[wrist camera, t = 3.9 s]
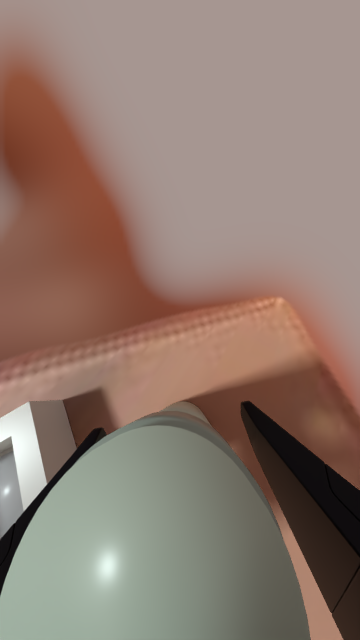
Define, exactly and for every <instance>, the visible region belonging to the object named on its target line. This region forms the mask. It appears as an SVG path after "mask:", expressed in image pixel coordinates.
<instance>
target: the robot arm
mask: <svg viewBox="0 0 360 640" xmlns="http://www.w3.org/2000/svg"><path fill="white" fill-rule="evenodd" d="M241 417H242V420H243V423H244V425H245V428H246V431H247V434H248V436H249V439H250V442H251V445H252V447H253V450H254V452H255V455H256V457H257V459H258V461H259V463H260V465H261V467H262V470H263V472H264V474H265V476H266V478H267V480H268V482H269V484H270V486H271V488H272V490H273V493H274V495H275V497H276V499H277V501H278V503H279V505H280V507H281V509H282V511H283V514H284V516H285V518H286V520H287V522H288V524H289V526H290V528H291V530H292V532H293V534H294V537H295V539H296V541H297V543H298V545H299V547H300V549H301V551H302V553H303V555H304V558H305V560H306V562H307V564H308V566H309V568H310V570H311V572H312V574H313V576H314V578H315V581H316V583H317V585H318V587H319V589H320V591H321V593H322V595H323V597H324V599H325V602H326V604H327V606H328V608H329V610H330V612H331V613H332V616H333V619H334V621H335V623H336V625H337V627H338V629H339V631H340V633H341V635H342V637H343V640H360V490H358V489H357V488H356V487H354V486H353V485H352V484H351V483H349V482H348V481H347V480H346V479H344V478H343V477H342V476H340V475H339V474H338V473H337V472H336V471H334V470H333V469H332V468H331V467H329V466H328V465H327V464H324V462H323V461H322V460H321V459H320V458H318V457H317V456H316V455H315V454H313V453H312V452H311V451H310V450H309V449H307V448H306V447H305V446H304V445H302V444H301V443H300V442H299V441H298V440H296V439H295V438H294V437H293V436H291V435H290V434H289V433H288V432H287V431H285V430H284V429H283V428H282V427H280V426H279V425H278V424H277V423H276V422H274V421H273V420H272V419H271V418H269V417H268V416H267V415H266V414H265V413H263V412H262V411H261V410H260V409H258V408H257V407H256V406H255V405H254V404H252V403H251V402H250V401H244V402H241ZM105 436H107V435H106V432H105V430H104V428H102V427H101V428H96V429H94V430H93V431H92V432H91V433H90V434H89V435H88V437H87V438H86V439H85V440H84V441H83V442H82V444H81V445H80V446H79V447H78V448H77V449H76V451H75V452H74V453H73V454H72V455H71V457H70V458H69V459H68V460H67V461H66V462H65V464H64V465H63V466H62V467H61V468H60V469H59V471H58V472H57V473H56V474H55V475H54V477H53V478H52V479H51V480H50V481H49V482H48V484H47V485H46V486H45V487H44V488H43V490H42V491H41V492H40V493H39V494H38V495H37V497H36V498H35V499H34V500H33V501H32V502H31V504H30V505H29V506H28V507H27V508H26V510H25V511H24V512H23V513H22V514H21V515H20V517H19V518H18V519H17V520H16V523H14V524H13V525H12V526H11V527H10V528H9V529H8V531H7V532H6V533H5V534H4V535H3V537H2V538H1V539H0V596H1V592H2V589H3V585H4V582H5V579H6V576H7V573H8V571H9V568H10V565H11V563H12V560H13V557H14V555H15V552H16V550H17V548H18V546H19V544H20V542H21V540H22V537H23V535H24V533H25V531H26V529H27V527H28V525H29V524H30V522H31V520H32V519H33V517H34V515H35V513H36V512H37V510H38V508H39V507H40V505H41V504H42V502H43V501H44V500H45V498H46V497H47V495H48V494H49V492H50V491H51V490H52V488H53V487H54V486H55V485H56V484H57V483H58V481H59V480H60V479H61V478H62V477H63V475H64V474H65V473H66V472H67V471H68V470H69V469H71V468H72V466H73V465H74V464H75V463H76V462H77V460H78V459H79V458H80V457H81V456H82V455H83V454H84V453H85V452H86V451H88V450H89V449H90V448H91V447H92V446H93V445H94V444H96V443H97V442H98V441H100V440H101V439H102V438H104V437H105Z"/></svg>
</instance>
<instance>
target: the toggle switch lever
mask: <svg viewBox="0 0 360 640" xmlns="http://www.w3.org/2000/svg"><path fill="white" fill-rule="evenodd" d="M0 640H311V639H310V632H309V626H308V619H307V614H306V610H305V606H304V602H303V598H302V593H301V589H300V585H299V582H298V579H297V576H296V573H295V570H294V567H293V564H292V561H291V558H290V555H289V552H288V550H287V548H286V545H285V543H284V540H283V537H282V534H281V531H280V528H279V525H278V523H277V521H276V519H275V516H274V514H273V512H272V509H271V507H270V505H269V503H268V501H267V499H266V497H265V496H264V494H263V492H262V490H261V488H260V486H259V485H258V483H257V482H256V481H255V479H254V478H253V476H252V475H251V473H250V472H249V470H248V469H247V468H246V466H245V465H244V464H243V462H242V461H241V460H240V459H239V457H238V456H237V455H236V453H235V452H234V451H233V449H232V448H231V447H230V446H229V444H228V443H227V442H226V441H225V439H224V438H223V437H222V436H221V435H220V434H219V433H218V432H217V431H216V430H215V429H214V428H213V427H212V426H211V424H210V423H209V421H208V420H207V419H206V417H205V416H204V414H203V413H202V411H201V410H200V409H199V408H198V407H197V406H196V405H194V404H192V403H190V402H186V401H179V402H176V403H173V404H172V405H170V406H168V407H166V408H165V409H163V410H161V411H159V412H156V413H152V414H149V415H147V416H144V417H142V418H140V419H138V420H136V421H134V422H132V423H130V424H128V425H126V426H124V427H122V428H120V429H118V430H116V431H114V432H112V433H111V434H109V435H107V436H105V437H104V438H102V439H101V440H100V441H98V442H97V443H96V444H94V445H93V446H92V447H91V448H90V449H89V450H88V451H86V452H85V453H84V454H83V455H82V456H81V457H80V458H79V459H78V460H77V462H76V463H75V464H74V465H73V466H72V468H71V469H69V470H68V471H67V472H66V473H65V474H64V475H63V477H62V478H61V479H60V480H59V481H58V483H57V484H56V485H55V486H54V487H53V488H52V490H51V491H50V492H49V494H48V495H47V497H46V498H45V500H44V501H43V502H42V504H41V505H40V507H39V508H38V510H37V512H36V513H35V515H34V517H33V519H32V520H31V522H30V524H29V525H28V527H27V529H26V531H25V533H24V535H23V537H22V540H21V542H20V544H19V546H18V548H17V550H16V552H15V555H14V557H13V560H12V563H11V565H10V568H9V571H8V573H7V576H6V579H5V582H4V585H3V589H2V592H1V596H0Z"/></svg>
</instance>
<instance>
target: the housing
mask: <svg viewBox="0 0 360 640" xmlns="http://www.w3.org/2000/svg"><path fill="white" fill-rule="evenodd" d="M76 449H77V448H76V445H75V441H74V438H73V434H72V431H71V427H70V424H69V421H68V417H67V414H66V410H65V407H64V403H63V400H50V401H29V402H27V403H26V404H24V405H22V406H20V407H19V408H17V409H15V410H13V411H12V412H10V413H8V414H6V415H5V416H3V417H1V418H0V539H1V538H2V537H3V535H4V534H5V533H6V532H7V531H8V529H9V528H10V527H11V526H12V525H13V524H14V523H16V520H17V519H18V518H19V517H20V515H21V514H22V513H23V512H24V511H25V510H26V508H27V507H28V506H29V505H30V504H31V502H32V501H33V500H34V499H35V498H36V497H37V495H38V494H39V493H40V492H41V491H42V490H43V488H44V487H45V486H46V485H47V484H48V482H49V481H50V480H51V479H52V478H53V477H54V475H55V474H56V473H57V472H58V471H59V469H60V468H61V467H62V466H63V465H64V464H65V462H66V461H67V460H68V459H69V458H70V457H71V455H72V454H73V453H74V452H75V451H76Z"/></svg>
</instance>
